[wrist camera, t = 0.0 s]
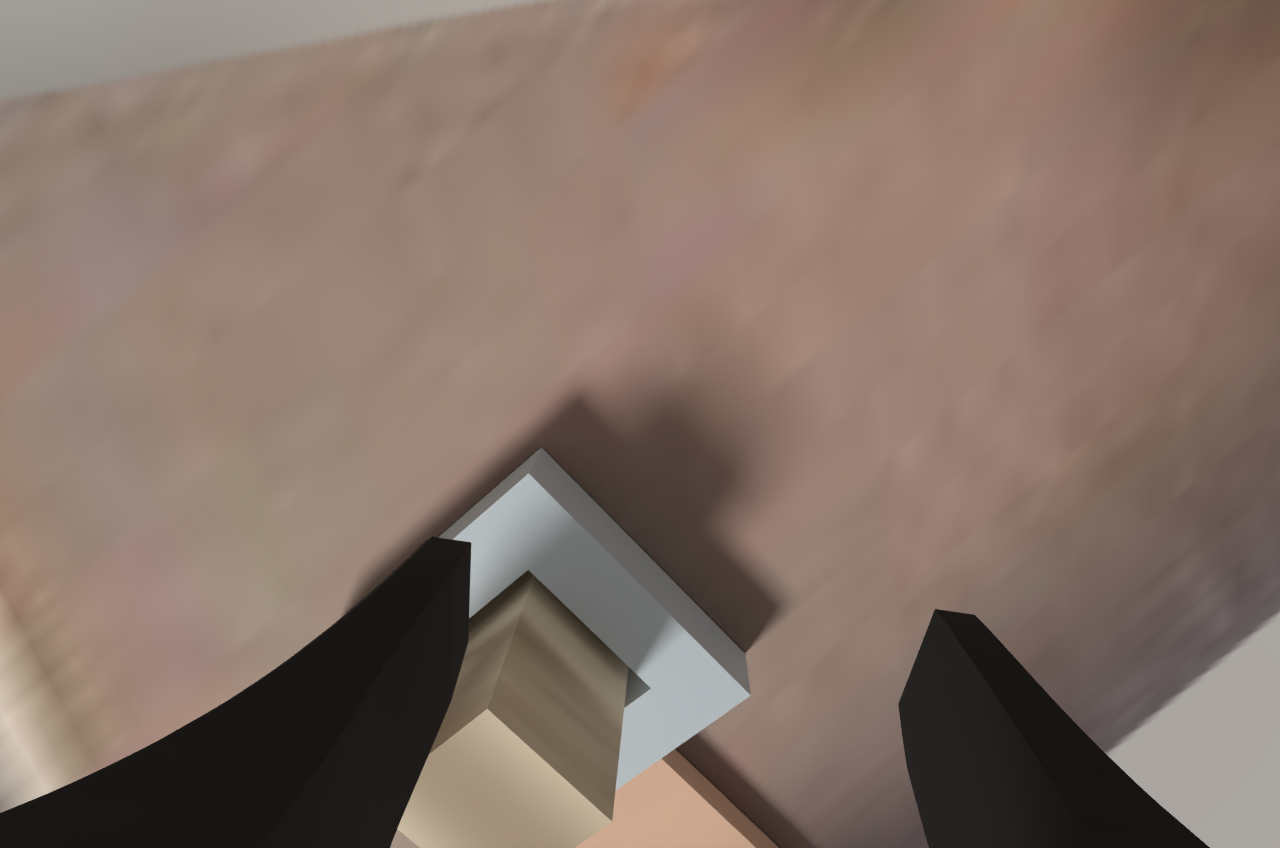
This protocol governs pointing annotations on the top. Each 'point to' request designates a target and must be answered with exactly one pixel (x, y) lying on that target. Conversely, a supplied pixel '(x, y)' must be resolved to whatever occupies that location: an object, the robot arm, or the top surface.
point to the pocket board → (607, 604)
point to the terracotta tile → (675, 813)
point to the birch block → (524, 732)
